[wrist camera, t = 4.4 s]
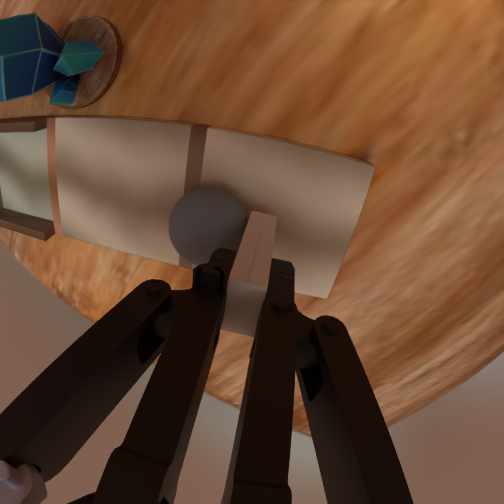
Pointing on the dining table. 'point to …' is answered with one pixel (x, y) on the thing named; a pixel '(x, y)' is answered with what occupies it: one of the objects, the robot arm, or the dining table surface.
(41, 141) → the lane
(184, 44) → the dining table surface
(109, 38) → the gemstone
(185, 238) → the ball
